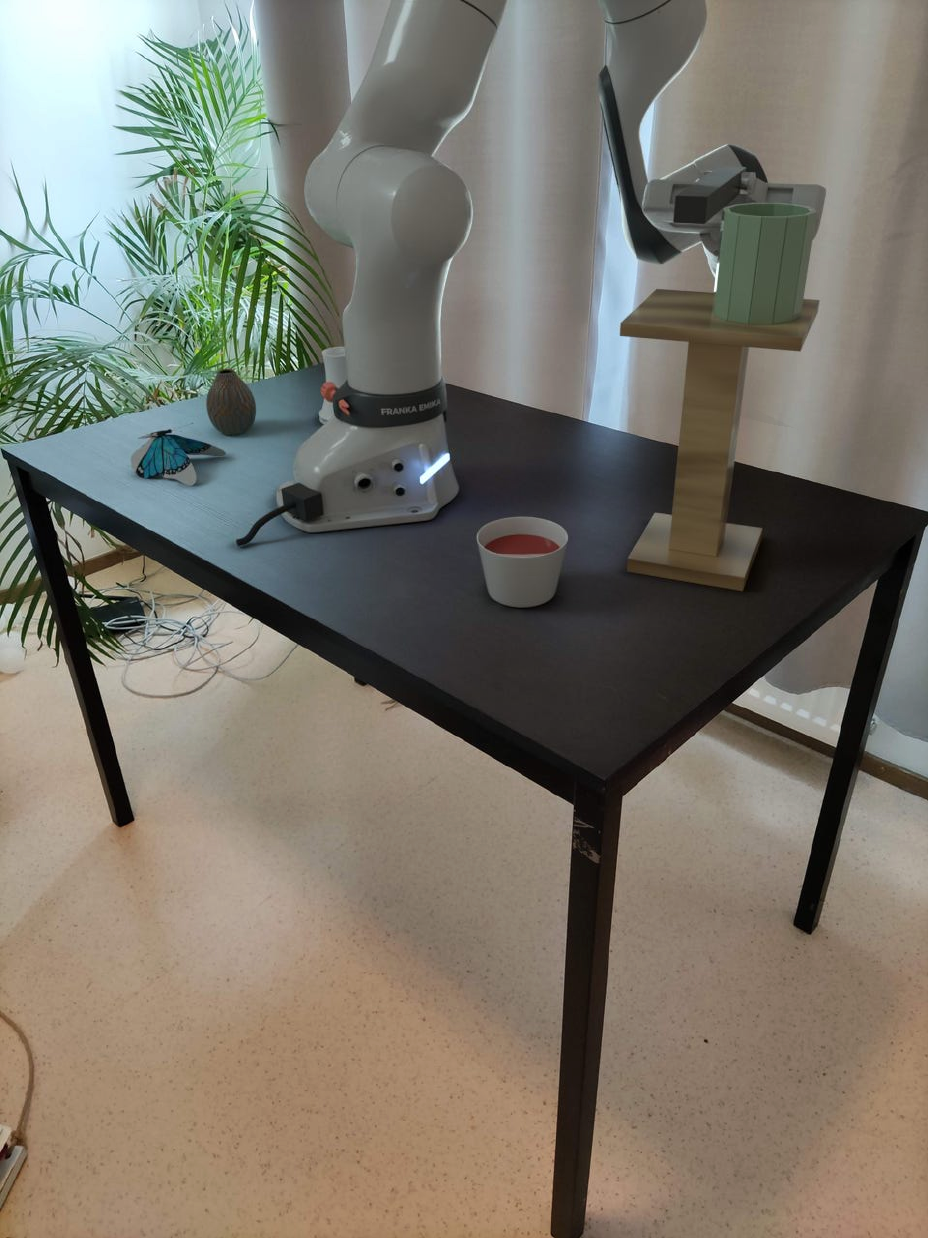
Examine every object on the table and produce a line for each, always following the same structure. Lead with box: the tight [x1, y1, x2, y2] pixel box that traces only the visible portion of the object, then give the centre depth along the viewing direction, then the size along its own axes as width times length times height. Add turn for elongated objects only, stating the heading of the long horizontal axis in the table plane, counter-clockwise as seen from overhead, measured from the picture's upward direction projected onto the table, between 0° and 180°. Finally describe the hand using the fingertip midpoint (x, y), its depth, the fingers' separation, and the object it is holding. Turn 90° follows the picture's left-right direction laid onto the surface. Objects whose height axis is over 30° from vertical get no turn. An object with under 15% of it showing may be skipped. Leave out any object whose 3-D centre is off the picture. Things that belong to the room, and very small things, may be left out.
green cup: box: [712, 203, 817, 324], centre depth 88 cm, size 8×8×9 cm
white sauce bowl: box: [476, 516, 569, 609], centre depth 98 cm, size 9×9×6 cm
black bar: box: [673, 166, 746, 224], centre depth 100 cm, size 22×3×2 cm, turn 157°
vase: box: [205, 368, 257, 436], centre depth 139 cm, size 7×7×9 cm
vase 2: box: [318, 346, 347, 425], centre depth 142 cm, size 8×8×10 cm
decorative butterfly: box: [130, 422, 227, 487], centre depth 129 cm, size 10×6×10 cm
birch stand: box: [619, 288, 821, 592], centre depth 98 cm, size 14×16×26 cm
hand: (726, 178), depth 105 cm, fingers closed on black bar, 3 cm apart
